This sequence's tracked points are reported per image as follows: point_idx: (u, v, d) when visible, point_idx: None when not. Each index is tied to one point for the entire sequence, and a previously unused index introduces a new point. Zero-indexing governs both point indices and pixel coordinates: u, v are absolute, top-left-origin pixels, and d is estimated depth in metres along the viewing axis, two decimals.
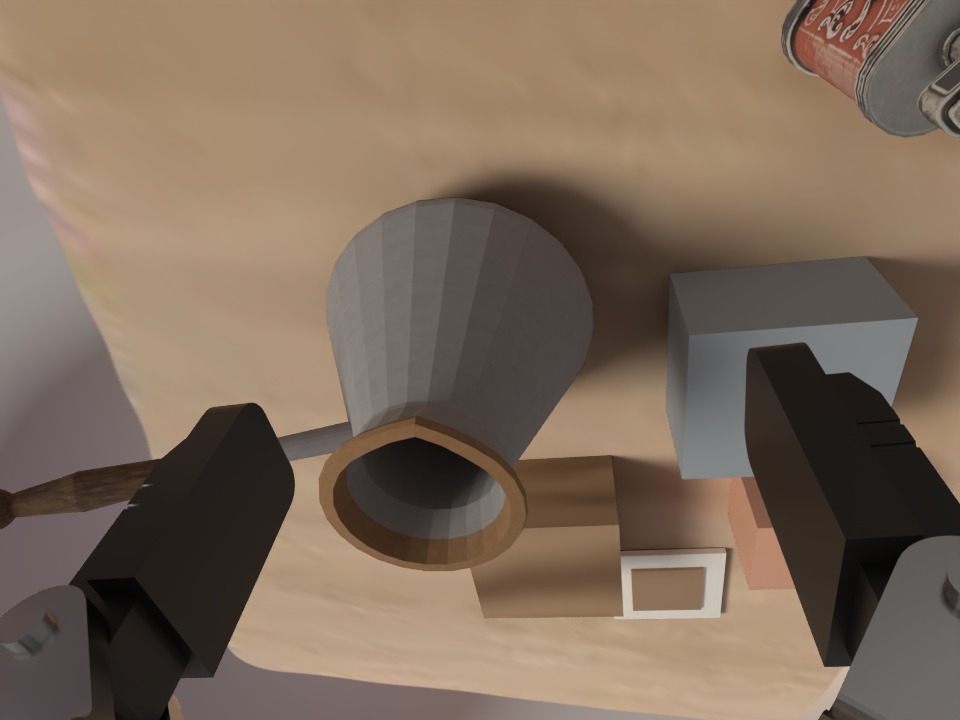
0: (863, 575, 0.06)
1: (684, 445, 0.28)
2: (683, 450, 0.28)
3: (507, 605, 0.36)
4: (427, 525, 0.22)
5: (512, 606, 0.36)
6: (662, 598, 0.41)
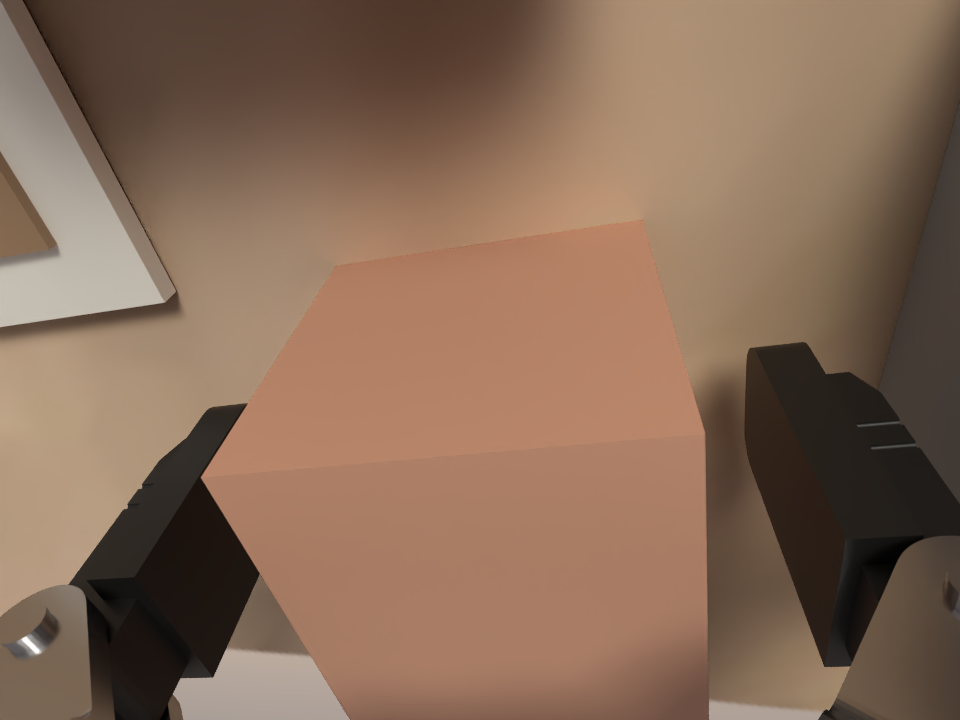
0: (863, 575, 0.06)
1: None
2: None
3: None
4: None
5: None
6: None
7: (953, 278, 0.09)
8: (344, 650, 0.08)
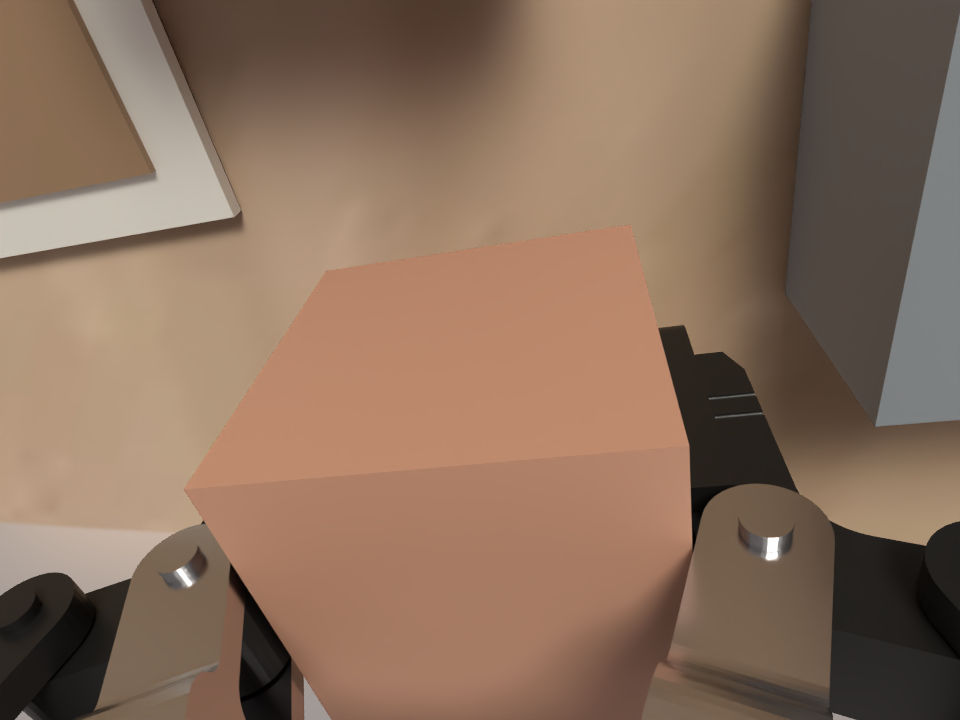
0: (694, 522, 0.07)
1: None
2: None
3: None
4: None
5: None
6: None
7: (814, 190, 0.12)
8: (331, 661, 0.08)
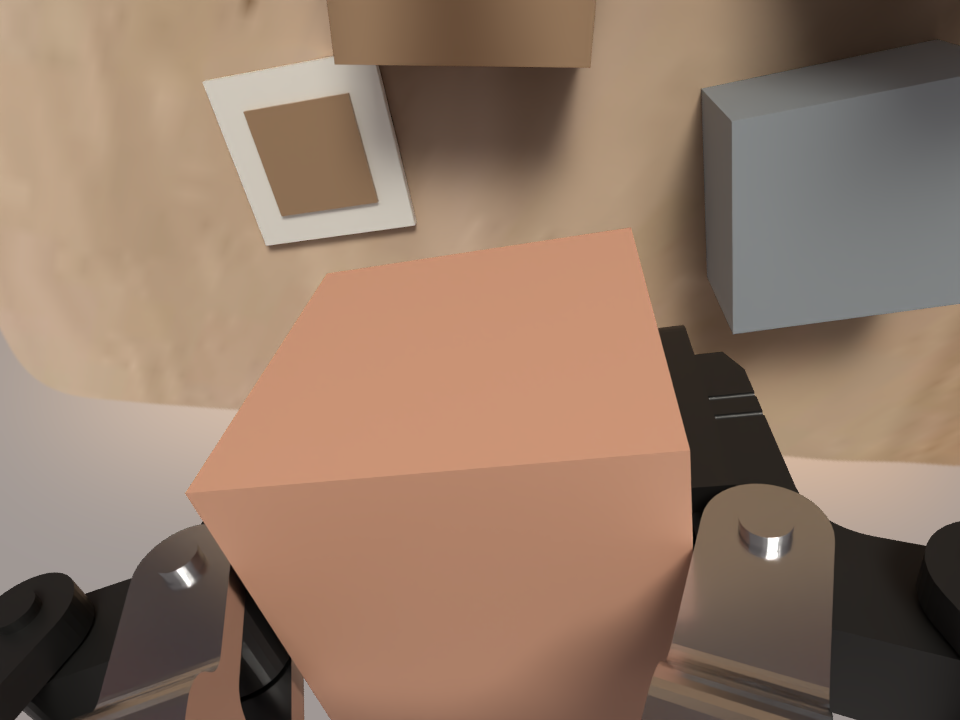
0: (694, 523, 0.07)
1: (804, 108, 0.19)
2: (791, 109, 0.20)
3: None
4: None
5: None
6: (291, 154, 0.26)
7: (710, 226, 0.26)
8: (332, 664, 0.08)
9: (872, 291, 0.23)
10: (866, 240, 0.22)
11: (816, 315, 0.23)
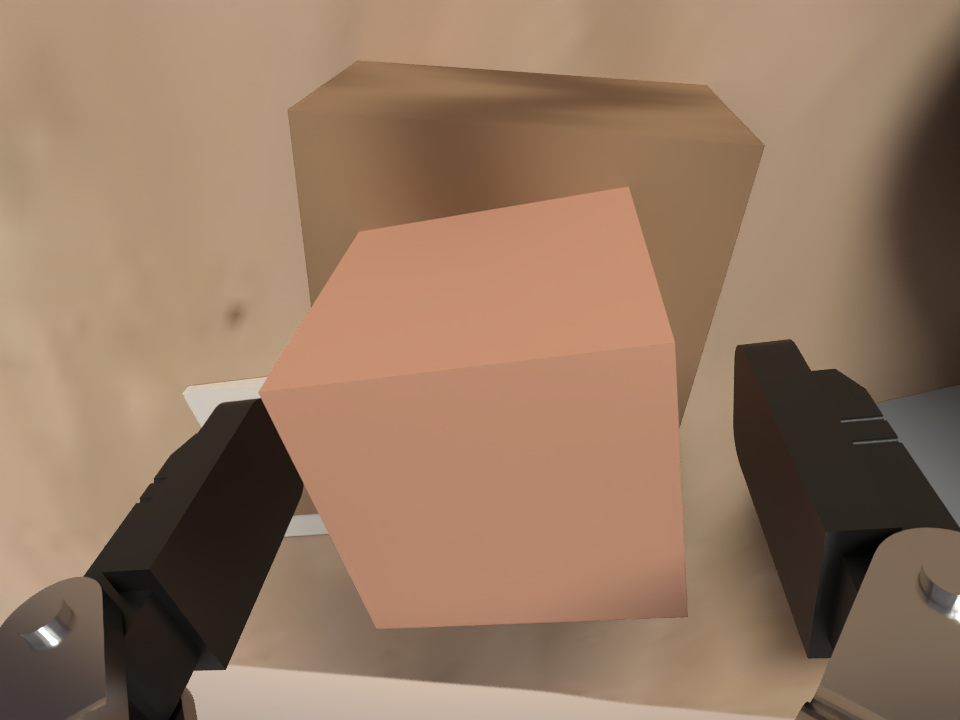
0: (843, 566, 0.06)
1: None
2: None
3: (366, 202, 0.12)
4: None
5: (360, 216, 0.12)
6: None
7: None
8: (372, 556, 0.09)
9: None
10: None
11: None
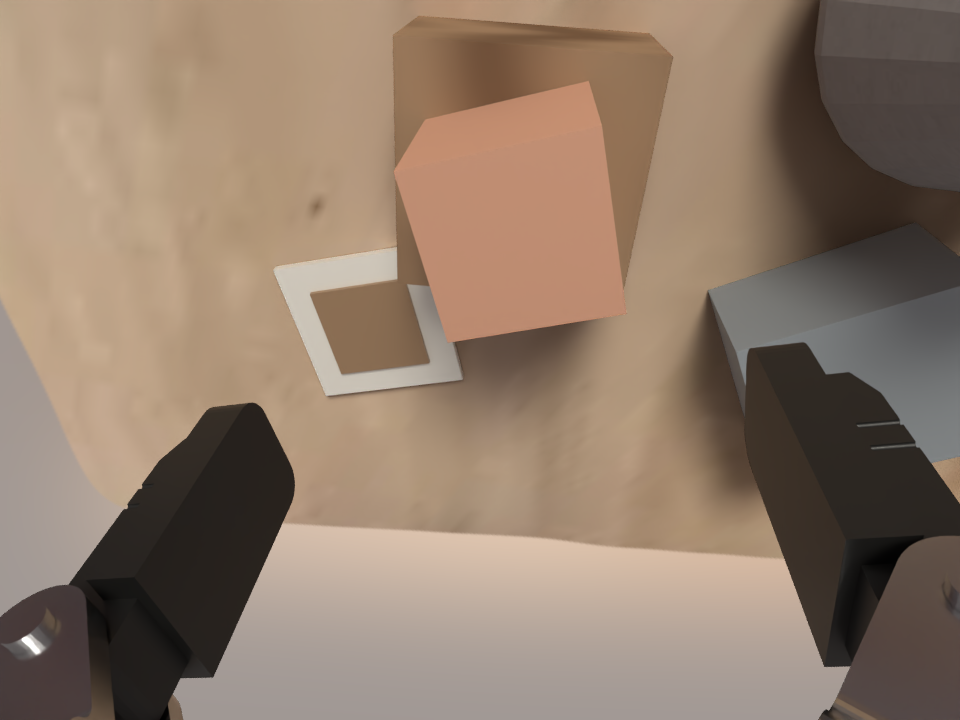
0: (863, 575, 0.06)
1: (797, 334, 0.22)
2: (787, 336, 0.23)
3: (436, 96, 0.19)
4: None
5: (431, 105, 0.19)
6: (352, 326, 0.29)
7: (739, 394, 0.29)
8: (448, 283, 0.17)
9: None
10: None
11: None
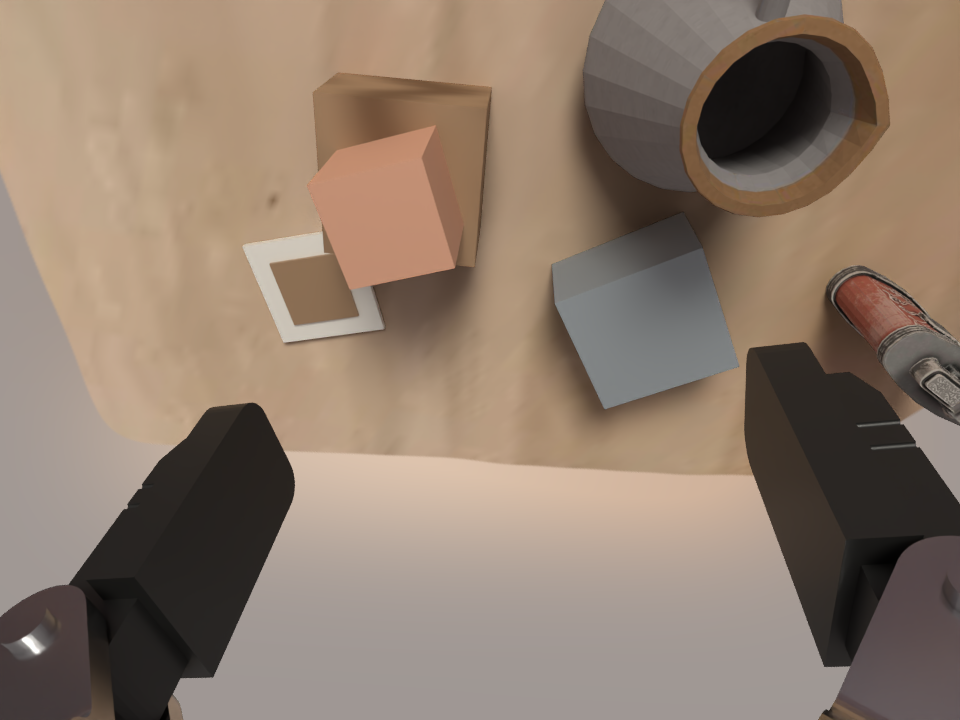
0: (863, 575, 0.06)
1: (592, 289, 0.34)
2: (585, 291, 0.34)
3: (342, 129, 0.30)
4: None
5: (339, 135, 0.30)
6: (301, 288, 0.39)
7: None
8: (345, 251, 0.28)
9: (678, 371, 0.36)
10: (660, 345, 0.35)
11: (650, 390, 0.37)
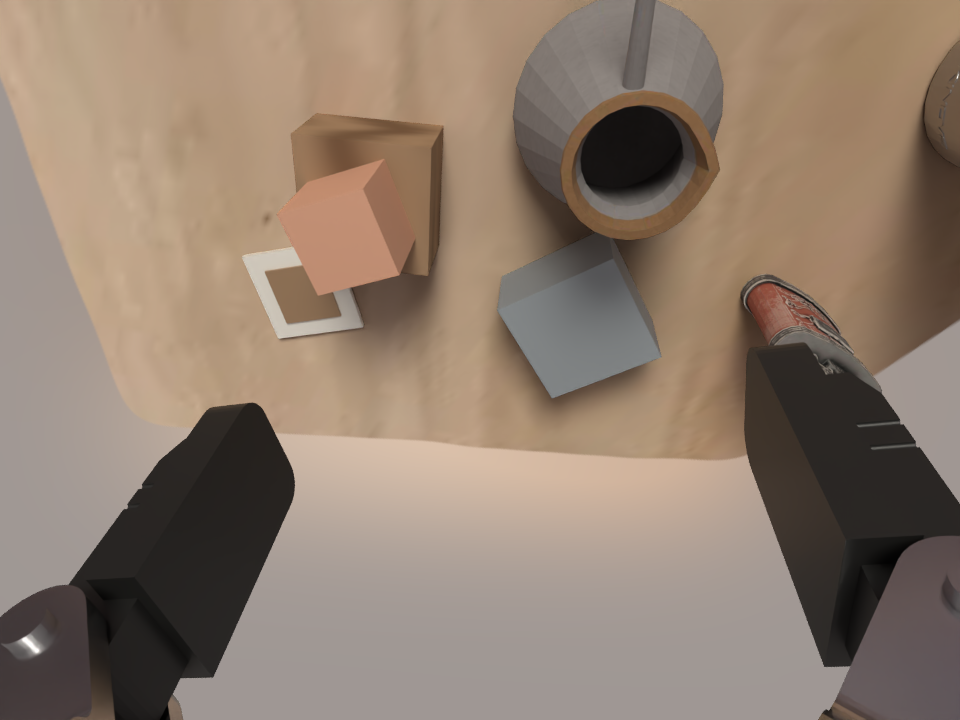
0: (863, 575, 0.06)
1: (526, 297, 0.40)
2: (521, 299, 0.40)
3: (315, 163, 0.36)
4: (578, 159, 0.28)
5: (313, 167, 0.37)
6: (291, 292, 0.46)
7: None
8: (311, 265, 0.35)
9: (609, 363, 0.42)
10: (590, 342, 0.42)
11: (588, 380, 0.43)
